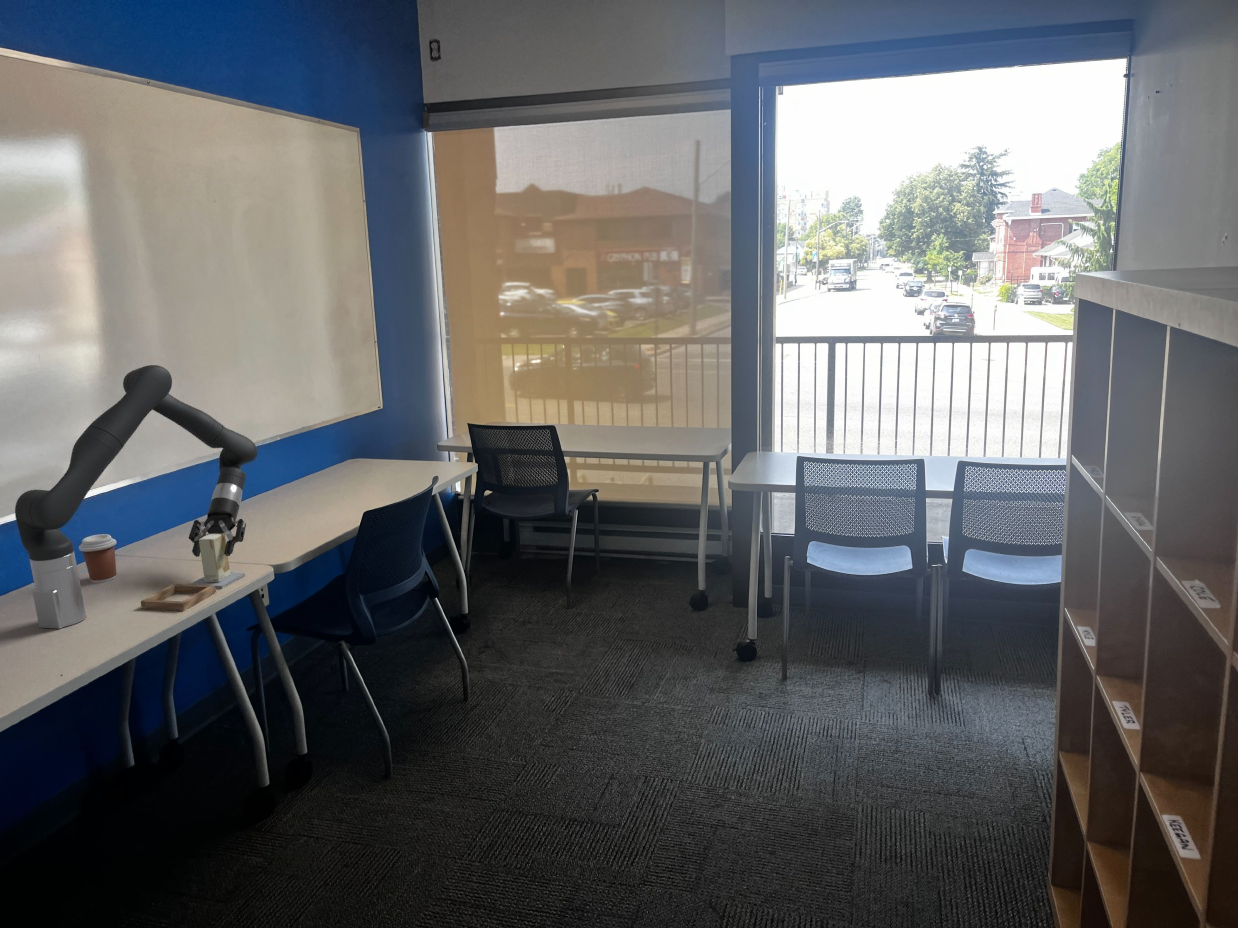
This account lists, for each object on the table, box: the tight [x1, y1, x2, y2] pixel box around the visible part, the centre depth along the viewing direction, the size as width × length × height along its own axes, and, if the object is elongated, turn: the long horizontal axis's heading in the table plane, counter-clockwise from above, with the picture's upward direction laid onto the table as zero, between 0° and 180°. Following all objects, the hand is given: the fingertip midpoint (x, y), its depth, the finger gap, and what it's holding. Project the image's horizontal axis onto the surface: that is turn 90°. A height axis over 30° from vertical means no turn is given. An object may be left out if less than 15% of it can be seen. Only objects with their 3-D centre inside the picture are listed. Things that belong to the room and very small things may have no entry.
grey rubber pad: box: [190, 571, 246, 589], centre depth 242 cm, size 10×10×1 cm
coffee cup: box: [78, 533, 118, 584], centre depth 246 cm, size 9×9×12 cm
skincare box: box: [199, 533, 231, 582], centre depth 240 cm, size 6×4×12 cm
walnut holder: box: [140, 583, 217, 612], centre depth 229 cm, size 12×12×2 cm
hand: (211, 555), depth 239 cm, fingers open, 8 cm apart
